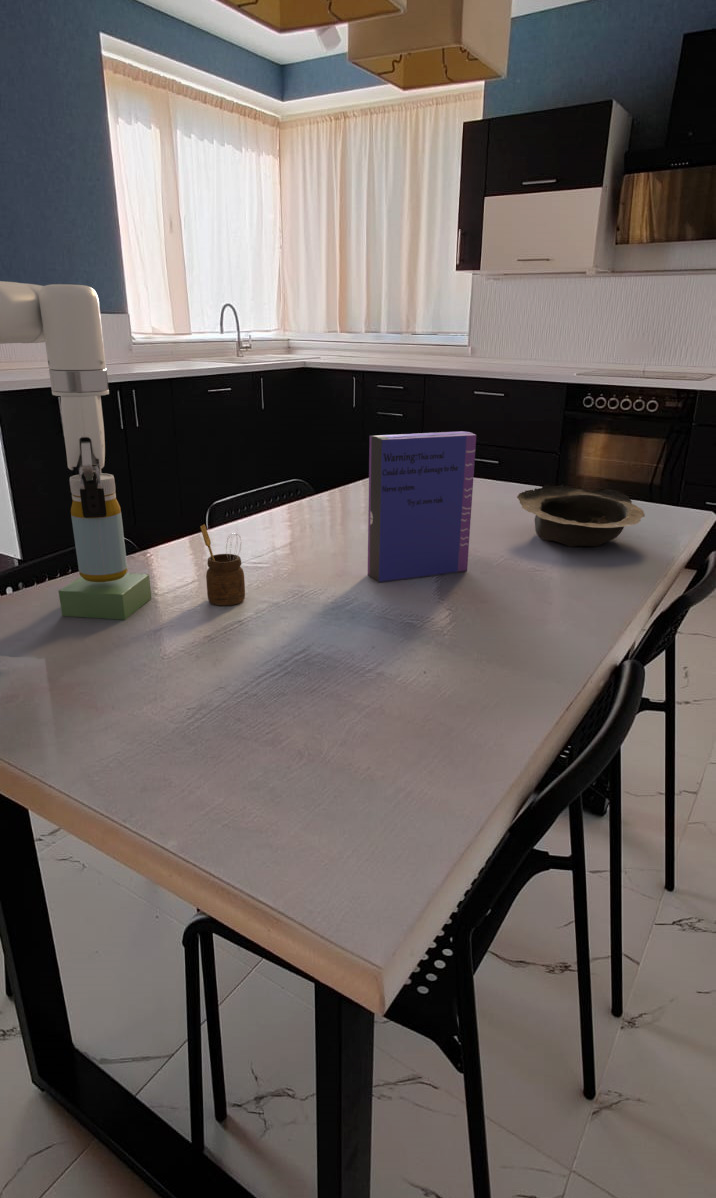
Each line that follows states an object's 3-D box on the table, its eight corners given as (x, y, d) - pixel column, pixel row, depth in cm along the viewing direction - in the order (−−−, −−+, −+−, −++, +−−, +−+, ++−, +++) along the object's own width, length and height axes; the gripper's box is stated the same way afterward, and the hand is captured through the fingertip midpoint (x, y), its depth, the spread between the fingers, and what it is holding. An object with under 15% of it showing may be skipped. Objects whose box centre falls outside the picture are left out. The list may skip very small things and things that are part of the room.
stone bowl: (554, 517, 176) (561, 476, 172) (657, 546, 161) (668, 502, 157) (491, 534, 160) (498, 490, 156) (600, 568, 144) (611, 520, 140)
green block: (62, 616, 115) (58, 590, 114) (92, 594, 124) (89, 571, 123) (125, 620, 114) (122, 594, 112) (151, 598, 123) (149, 574, 122)
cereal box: (453, 564, 142) (461, 430, 132) (467, 571, 138) (476, 433, 128) (367, 574, 136) (369, 434, 126) (378, 582, 131) (381, 438, 122)
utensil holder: (238, 608, 119) (234, 532, 114) (200, 605, 120) (194, 529, 116) (250, 596, 125) (247, 522, 120) (214, 593, 126) (209, 520, 121)
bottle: (123, 567, 122) (112, 471, 116) (132, 579, 116) (120, 479, 110) (77, 572, 119) (63, 474, 113) (83, 585, 113) (69, 483, 107)
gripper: (55, 379, 113) (71, 500, 120) (46, 388, 98) (65, 526, 105) (108, 379, 115) (121, 497, 122) (107, 388, 100) (122, 523, 107)
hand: (95, 510), depth 113 cm, fingers closed on bottle, 7 cm apart
